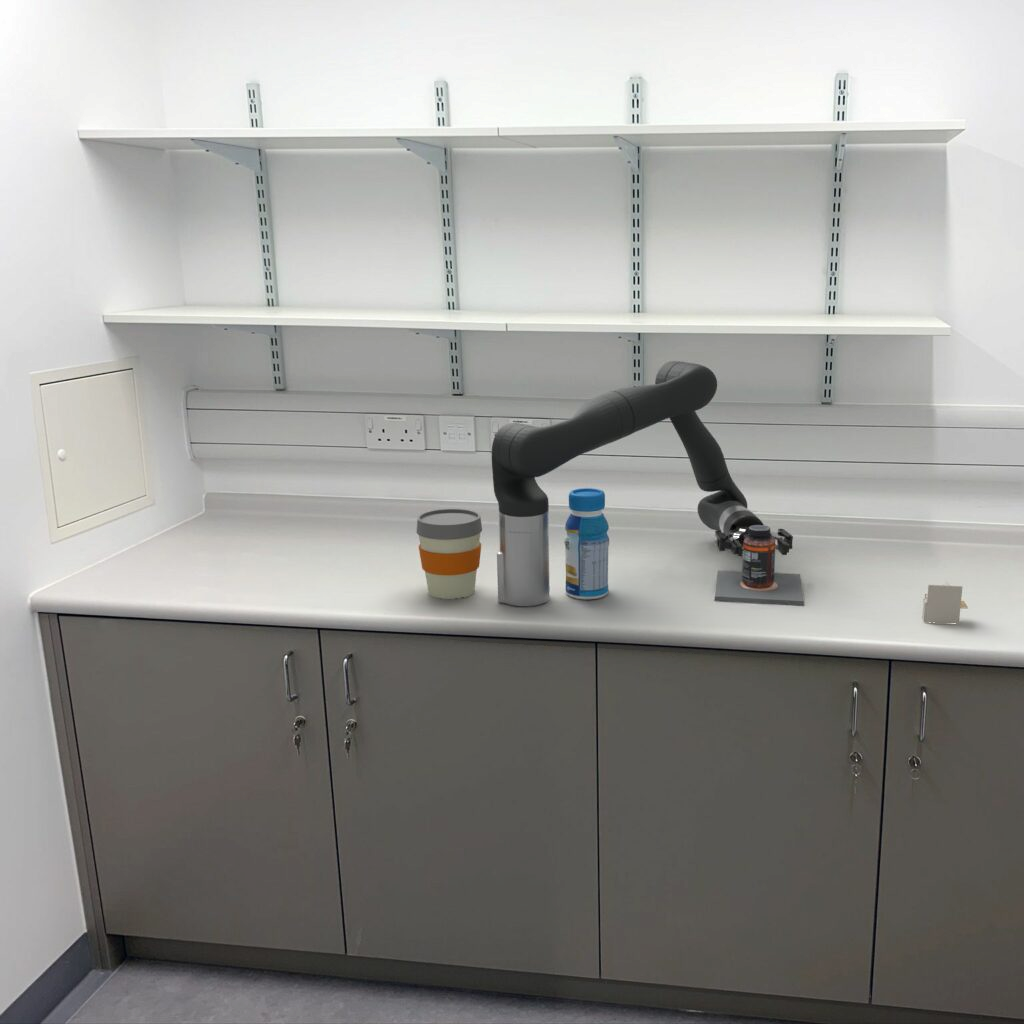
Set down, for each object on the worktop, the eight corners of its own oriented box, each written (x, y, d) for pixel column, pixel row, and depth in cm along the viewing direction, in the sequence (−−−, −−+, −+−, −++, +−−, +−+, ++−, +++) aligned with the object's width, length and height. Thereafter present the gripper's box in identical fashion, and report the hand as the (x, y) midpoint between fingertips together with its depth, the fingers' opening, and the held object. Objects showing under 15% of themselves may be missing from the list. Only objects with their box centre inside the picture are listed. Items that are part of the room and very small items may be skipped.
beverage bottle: (599, 603, 195) (599, 499, 190) (557, 597, 199) (556, 494, 194) (615, 589, 202) (616, 488, 197) (575, 584, 206) (574, 485, 201)
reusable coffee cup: (407, 597, 200) (403, 521, 196) (438, 578, 211) (435, 506, 207) (466, 605, 195) (463, 528, 191) (494, 585, 206) (492, 511, 202)
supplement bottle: (769, 578, 204) (771, 522, 201) (777, 588, 198) (780, 531, 195) (738, 579, 204) (740, 523, 201) (746, 589, 198) (748, 532, 195)
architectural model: (920, 618, 186) (923, 578, 184) (961, 620, 184) (965, 580, 182) (923, 625, 182) (927, 585, 180) (966, 627, 181) (970, 586, 179)
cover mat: (714, 600, 195) (714, 595, 195) (717, 573, 210) (717, 569, 210) (803, 605, 192) (803, 600, 192) (800, 577, 207) (800, 573, 207)
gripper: (707, 510, 212) (726, 532, 196) (776, 508, 212) (801, 530, 196) (705, 546, 214) (724, 571, 198) (775, 544, 214) (799, 568, 198)
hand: (763, 550), depth 197 cm, fingers open, 8 cm apart
